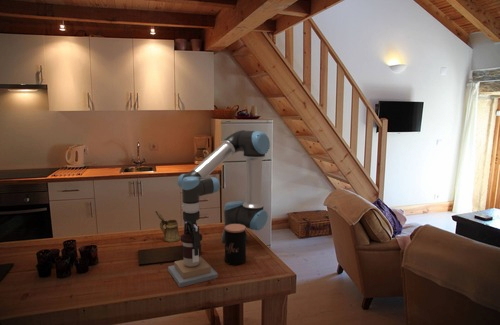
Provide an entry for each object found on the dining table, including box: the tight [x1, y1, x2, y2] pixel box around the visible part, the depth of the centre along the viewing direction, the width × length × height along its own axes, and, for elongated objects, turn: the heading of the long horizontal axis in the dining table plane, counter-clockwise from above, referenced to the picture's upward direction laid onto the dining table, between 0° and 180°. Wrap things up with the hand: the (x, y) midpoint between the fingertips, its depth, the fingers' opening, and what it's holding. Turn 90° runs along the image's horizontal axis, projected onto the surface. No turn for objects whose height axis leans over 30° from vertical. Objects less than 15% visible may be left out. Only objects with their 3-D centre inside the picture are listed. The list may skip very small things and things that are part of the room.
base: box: [167, 255, 219, 288], centre depth 162 cm, size 18×18×5 cm
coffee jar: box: [224, 224, 247, 266], centre depth 176 cm, size 11×11×18 cm
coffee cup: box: [180, 231, 203, 267], centre depth 161 cm, size 10×10×15 cm
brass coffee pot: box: [155, 210, 181, 243], centre depth 203 cm, size 9×14×18 cm, turn 103°
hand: (192, 257), depth 162 cm, fingers closed on coffee cup, 9 cm apart
